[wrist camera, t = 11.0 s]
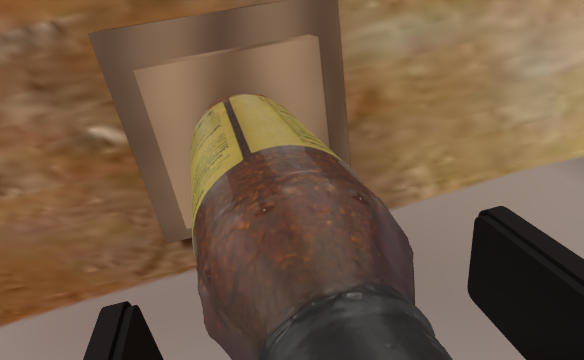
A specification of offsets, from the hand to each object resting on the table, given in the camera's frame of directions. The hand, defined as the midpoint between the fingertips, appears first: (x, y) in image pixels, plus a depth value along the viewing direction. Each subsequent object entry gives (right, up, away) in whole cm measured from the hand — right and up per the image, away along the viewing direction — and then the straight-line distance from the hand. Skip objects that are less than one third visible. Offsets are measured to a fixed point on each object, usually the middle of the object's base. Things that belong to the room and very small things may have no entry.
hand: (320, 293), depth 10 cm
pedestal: (-4, +7, +16) cm, 18 cm away
